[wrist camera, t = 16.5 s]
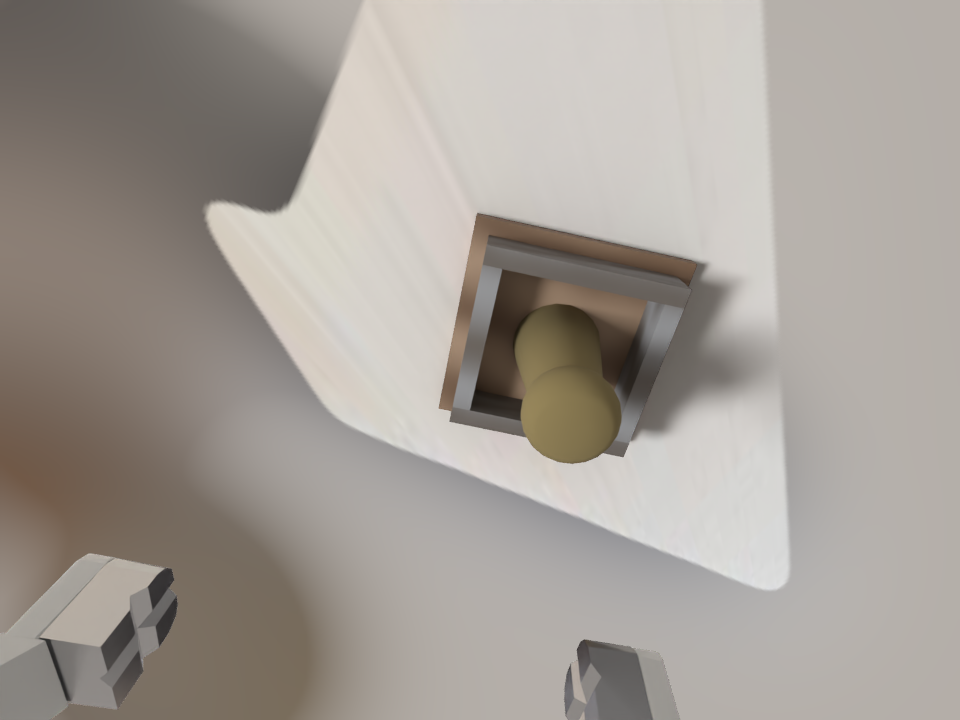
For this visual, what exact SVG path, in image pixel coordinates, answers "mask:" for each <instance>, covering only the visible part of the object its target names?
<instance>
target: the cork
mask: <svg viewBox="0 0 960 720" xmlns="http://www.w3.org/2000/svg"><path fill="white" fill-rule="evenodd" d="M513 350H514V355H515V359H516V362H517V365H518V368H519V371H520V374H521V377H522V380H523V383H524V386H525V389H526V394H525V396H524V398H523V401H522V408H521V422H522V426H523V431H524V433H525V435H526V437H527V438H528V440H529V442H530V443H531V445H532V446H533V447H534V448H535V449H536V450H537V451H539V452H540V453H541V454H542V455H544V456H546V457H548V458H550V459H553V460H555V461H557V462H562V463H571V464H573V463H581V462H586V461H589V460H591V459H594V458H596V457H598V456H599V455H601V454H602V453H603V452H604V451H606V450H607V449H608V448H609V447H610V446H611V444H612V443H613V441H614V440H615V439H616V437H617V436H618V433H619V429H620V426H621V421H622V414H621V404H620V401H619V399H618V397H617V395H616V393H615V391H614V389H613V387H612V385H611V384H610V383H608V382H607V381H606V380H605V379H604V378H603V373H602V361H601V348H600V338H599V331H598V329H597V327H596V325H595V323H594V321H593V320H592V319H591V318H590V317H589V316H588V315H587V314H586V313H585V312H584V311H582V310H580V309H578V308H576V307H574V306H571V305H565V304H551V305H546V306H542V307H540V308H538V309H536V310H534V311H532V312H530V313H529V314H528V315H527V316H526V317H525V318H524V319H523V320H522V321H521V322H520V324H519V326H518V328H517V330H516V332H515V333H514V340H513Z"/></svg>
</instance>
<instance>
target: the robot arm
mask: <svg viewBox="0 0 960 720" xmlns="http://www.w3.org/2000/svg"><path fill="white" fill-rule="evenodd" d="M173 581H174V577H173V572H172V569H171V568H166V567H160V566H155V565H149V564H144V563H139V562H133V561H128V560H123V559H118V558H113V557H108V556H102V555H96V554H90V553H89V554H87V555H86V556H84V557H83V558H81V559H79V560H77V561H76V562H75V563H74V564H73V565H72V566H71V567H70V568H69V569H68V570H67V571H66V572H65V574H64V575H63V576H62V577H61V578H60V579H59V580H58V581H57V582H56V583H55V584H54V585H53V586H52V587H51V588H50V589H49V590H48V591H47V592H46V593H45V594H44V595H43V596H42V597H41V598H40V599H39V600H38V601H37V602H36V603H35V604H34V605H33V606H32V607H31V608H30V609H29V610H28V611H27V612H26V613H25V614H24V615H23V616H22V617H21V618H20V619H19V620H18V621H17V622H16V623H15V624H14V625H13V626H12V627H11V628H10V629H9V630H8V631H7V632H6V633H1V632H0V720H51V719H52V718H53V717H55V716H56V715H58V714H59V713H60V712H62V711H63V710H64V709H66V708H67V707H68V703H73V704H79V705H87V706H94V707H102V708H110V709H118V708H119V707H120V705H121V704H122V702H123V701H124V699H125V698H126V697H127V695H128V694H129V692H130V690H131V689H132V687H133V686H134V685H135V683H136V682H137V680H138V678H139V677H140V675H141V674H142V673H143V658H144V657H145V656H147V655H148V654H150V653H151V652H153V651H154V650H156V649H157V648H159V647H160V645H161V644H162V642H163V641H164V639H165V638H166V636H167V635H168V633H169V631H170V629H171V626H172V624H173V622H174V619H175V617H176V612H177V606H178V602H177V595H176V594H175V593H174V592H173V591H171V589H170V588H169V587H170V585H171V584H172V583H173ZM577 656H578V660H576V661H574V662H572V663H571V664H570V667H569V669H568V672H567V675H566V682H565V697H564V700H565V701H564V702H565V714H566V717H567V719H568V720H680V718H679V714H678V711H677V707H676V704H675V700H674V697H673V693H672V690H671V686H670V683H669V679H668V676H667V672H666V669H665V665H664V662H663V659H662V657H661V656H660V654H659V653H657V652H655V651H649V650H643V649H636V648H631V647H629V646H623V645H616V644H610V643H603V642H597V641H591V640H583V641H581V642H580V644H579V646H578V648H577Z"/></svg>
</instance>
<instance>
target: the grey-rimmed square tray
mask: <svg viewBox="0 0 960 720" xmlns="http://www.w3.org/2000/svg"><path fill="white" fill-rule="evenodd" d="M696 266H697V264H696V263H694V262H693V261H691V260H686V259H682V258H677V257H672V256H668V255H663V254H659V253H654V252H650V251H645V250H641V249H636V248H632V247H627V246H623V245H618V244H614V243H609V242H605V241H600V240H596V239H591V238H587V237H582V236H578V235H573V234H569V233H564V232H560V231H555V230H551V229H546V228H542V227H537V226H533V225H528V224H524V223H519V222H515V221H510V220H506V219H501V218H497V217H492V216H488V215H483V214H478V213H477V216H476V221H475V226H474V231H473V236H472V241H471V246H470V251H469V257H468V262H467V267H466V272H465V277H464V282H463V287H462V292H461V297H460V302H459V307H458V312H457V317H456V323H455V328H454V333H453V338H452V343H451V348H450V353H449V358H448V363H447V368H446V373H445V378H444V383H443V389H442V394H441V399H440V404H439V409H444V410H449V411H452V412H451V417H450V421H449V422H454V423H459V424H464V425H469V426H474V427H478V428H483V429H488V430H493V431H498V432H503V433H508V434H513V435H517V436H522V437H526V435H525V433H524V431H523V426H522V422H521V408H522V401H523V398H524V396H525V394H526V389H525V386H524V383H523V380H522V377H521V374H520V371H519V368H518V365H517V362H516V359H515V355H514V350H513V340H514V333H515V332H516V330H517V328H518V326H519V324H520V322H521V321H522V320H523V319H524V318H525V317H526V316H527V315H528V314H529V313H530V312H532V311H534V310H536V309H538V308H540V307H542V306H546V305H551V304H565V305H571V306H574V307H576V308H578V309H580V310H582V311H584V312H585V313H586V314H587V315H588V316H589V317H590V318H591V319H592V320H593V321H594V323H595V325H596V327H597V329H598V331H599V338H600V348H601V361H602V373H603V378H604V379H605V380H606V381H607V382H608V383H610V384H611V385H612V387H613V389H614V391H615V393H616V395H617V397H618V399H619V401H620V404H621V414H622V421H621V426H620V429H619V433H618V436H617V437H616V439H615V440H614V441H613V443H612V444H611V446H610V447H609V448H608V449H607V450H606V451H604V452H603V453H605V454H610V455H615V456H620V457H624V454H625V452H626V450H627V447H628V445H629V442H630V440H631V437H632V435H633V433H634V430H635V428H636V425H637V423H638V420H639V418H640V415H641V413H642V411H643V408H644V406H645V403H646V401H647V398H648V396H649V394H650V391H651V389H652V386H653V384H654V381H655V379H656V376H657V374H658V372H659V369H660V367H661V364H662V362H663V359H664V357H665V355H666V352H667V350H668V347H669V345H670V342H671V340H672V337H673V335H674V333H675V330H676V328H677V325H678V323H679V320H680V318H681V315H682V313H683V311H684V308H685V306H686V303H687V301H688V298H689V296H690V294H691V291H692V289H690V288H689V287H688V286H689V284H690V281H691V279H692V276H693V274H694V271H695V269H696Z"/></svg>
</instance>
